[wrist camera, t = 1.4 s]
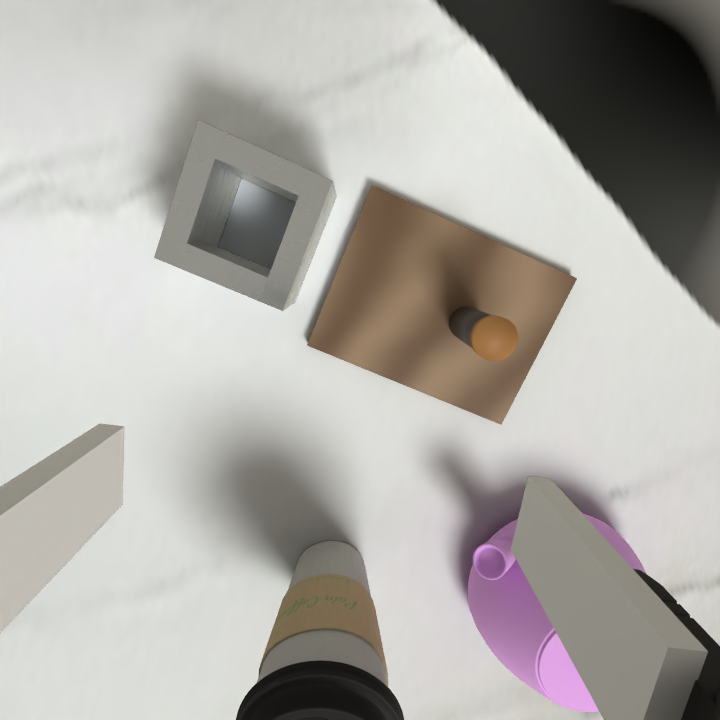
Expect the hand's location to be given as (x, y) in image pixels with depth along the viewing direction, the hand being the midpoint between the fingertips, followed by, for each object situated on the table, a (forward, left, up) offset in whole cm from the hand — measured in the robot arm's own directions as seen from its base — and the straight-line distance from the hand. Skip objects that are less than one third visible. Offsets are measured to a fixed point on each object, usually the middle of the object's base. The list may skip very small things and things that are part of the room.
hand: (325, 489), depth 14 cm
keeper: (+5, +6, -20) cm, 21 cm away
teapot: (+22, -10, -20) cm, 32 cm away
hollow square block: (-9, +7, -20) cm, 22 cm away
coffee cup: (+6, -17, -20) cm, 27 cm away
